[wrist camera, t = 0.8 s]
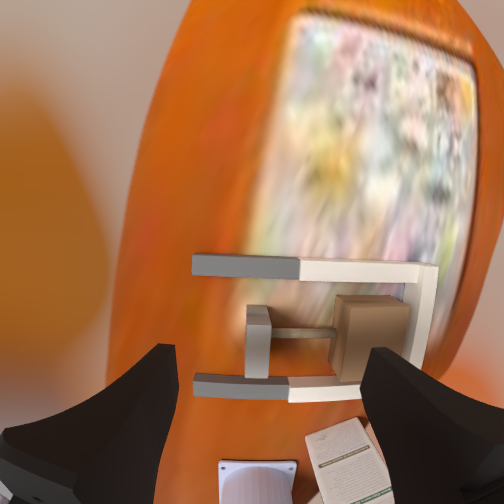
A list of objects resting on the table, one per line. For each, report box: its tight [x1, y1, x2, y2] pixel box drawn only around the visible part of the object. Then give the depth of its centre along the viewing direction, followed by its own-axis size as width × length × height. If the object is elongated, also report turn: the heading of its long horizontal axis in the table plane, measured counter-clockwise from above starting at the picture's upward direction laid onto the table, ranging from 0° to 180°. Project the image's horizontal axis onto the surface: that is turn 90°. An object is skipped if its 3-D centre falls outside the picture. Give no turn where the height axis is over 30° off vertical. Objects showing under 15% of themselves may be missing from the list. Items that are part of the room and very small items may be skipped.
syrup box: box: [305, 417, 395, 504], centre depth 19 cm, size 6×6×14 cm
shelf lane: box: [288, 257, 439, 402], centre depth 24 cm, size 12×12×3 cm
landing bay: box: [192, 253, 300, 400], centre depth 24 cm, size 12×8×2 cm, turn 177°
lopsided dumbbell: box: [245, 295, 410, 382], centre depth 23 cm, size 6×12×5 cm, turn 87°
